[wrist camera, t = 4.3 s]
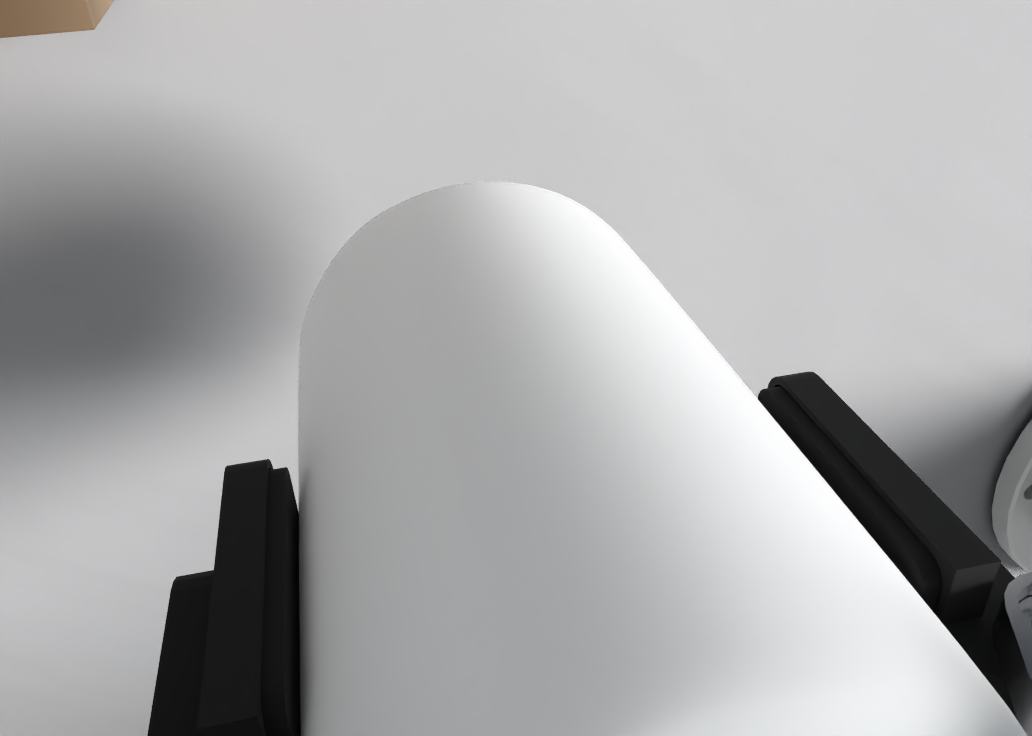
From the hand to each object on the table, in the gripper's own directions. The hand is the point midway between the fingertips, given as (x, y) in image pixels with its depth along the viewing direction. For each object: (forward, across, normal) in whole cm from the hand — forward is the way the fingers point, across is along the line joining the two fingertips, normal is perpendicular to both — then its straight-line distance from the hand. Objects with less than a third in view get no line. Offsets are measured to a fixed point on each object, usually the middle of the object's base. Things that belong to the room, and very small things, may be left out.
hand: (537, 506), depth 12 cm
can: (+5, 0, 0) cm, 5 cm away
